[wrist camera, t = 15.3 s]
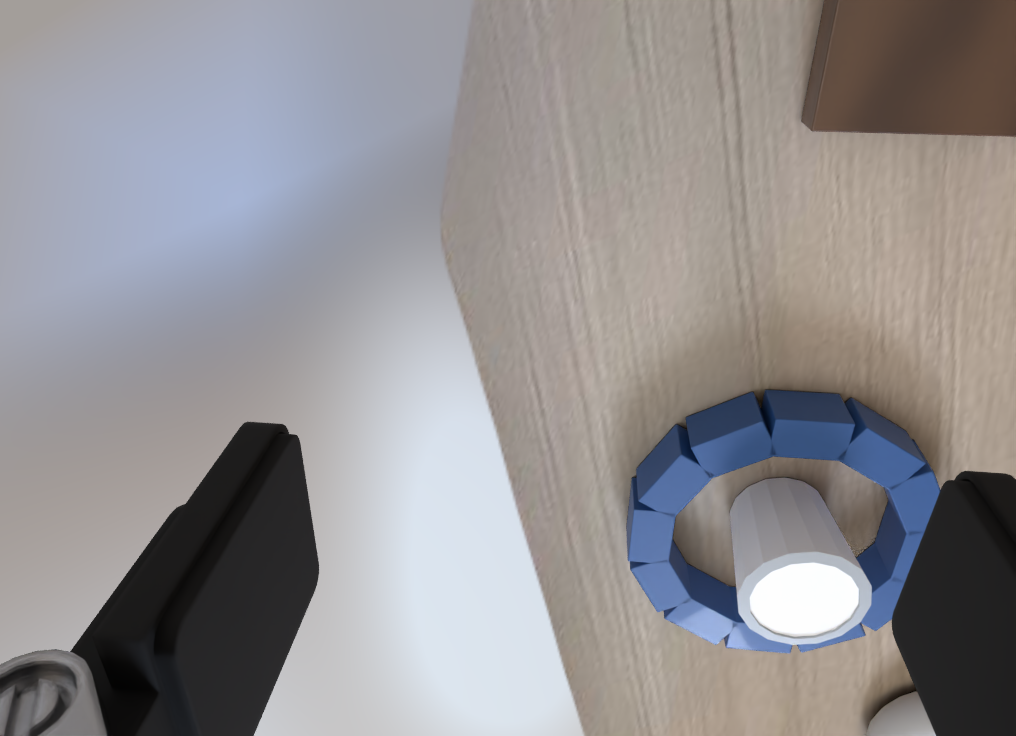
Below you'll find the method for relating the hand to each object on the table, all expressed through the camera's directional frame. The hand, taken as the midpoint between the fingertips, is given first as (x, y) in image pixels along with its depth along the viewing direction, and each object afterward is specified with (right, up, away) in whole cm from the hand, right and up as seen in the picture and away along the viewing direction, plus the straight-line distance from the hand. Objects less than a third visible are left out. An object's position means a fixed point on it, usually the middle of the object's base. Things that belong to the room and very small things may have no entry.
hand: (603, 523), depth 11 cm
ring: (+15, -7, +33) cm, 37 cm away
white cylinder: (+15, -6, +35) cm, 38 cm away
